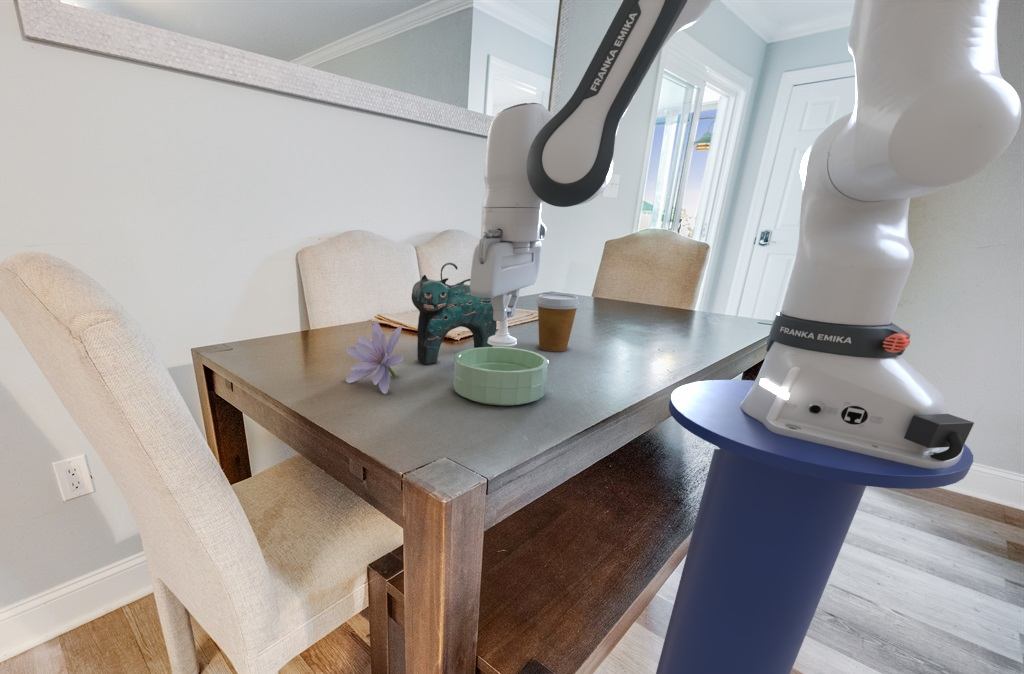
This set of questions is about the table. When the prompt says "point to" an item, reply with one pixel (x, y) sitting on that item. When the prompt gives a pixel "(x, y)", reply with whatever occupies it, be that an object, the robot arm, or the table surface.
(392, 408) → the table surface
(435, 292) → the ceramic cat
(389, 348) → the water lily
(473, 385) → the mint green pet bowl
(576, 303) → the disposable coffee cup
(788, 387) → the robot arm
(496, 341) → the chess piece
